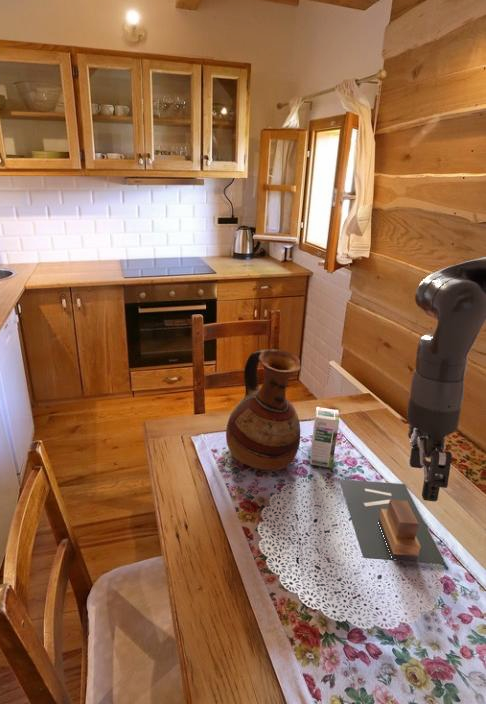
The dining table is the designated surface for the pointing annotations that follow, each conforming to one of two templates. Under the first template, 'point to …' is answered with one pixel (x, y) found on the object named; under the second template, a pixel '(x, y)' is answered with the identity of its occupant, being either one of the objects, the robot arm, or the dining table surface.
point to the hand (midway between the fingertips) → (422, 482)
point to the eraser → (400, 530)
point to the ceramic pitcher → (266, 414)
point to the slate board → (366, 512)
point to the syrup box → (324, 437)
